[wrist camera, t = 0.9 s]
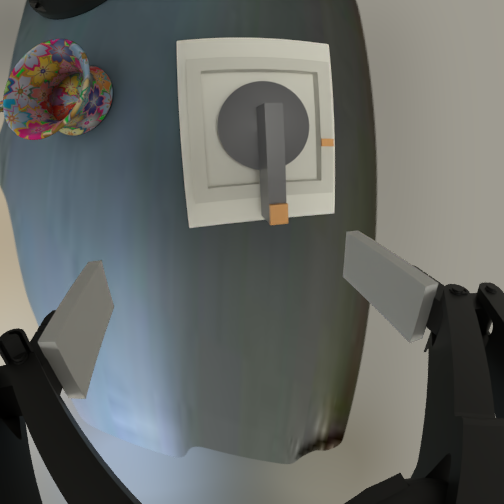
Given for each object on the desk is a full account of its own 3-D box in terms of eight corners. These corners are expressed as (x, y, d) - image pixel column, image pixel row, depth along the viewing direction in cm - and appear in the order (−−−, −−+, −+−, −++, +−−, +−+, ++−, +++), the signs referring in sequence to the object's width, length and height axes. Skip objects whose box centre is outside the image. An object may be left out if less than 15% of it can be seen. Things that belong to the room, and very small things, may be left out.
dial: (214, 84, 28) (219, 73, 23) (302, 84, 29) (322, 76, 24) (223, 216, 33) (229, 229, 28) (305, 208, 35) (325, 219, 30)
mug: (120, 58, 25) (93, 27, 15) (117, 133, 29) (86, 129, 19) (34, 78, 23) (-12, 63, 13) (31, 148, 26) (-18, 155, 16)
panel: (177, 44, 26) (176, 35, 23) (324, 46, 29) (334, 40, 26) (189, 225, 34) (189, 232, 32) (330, 211, 37) (340, 216, 35)
